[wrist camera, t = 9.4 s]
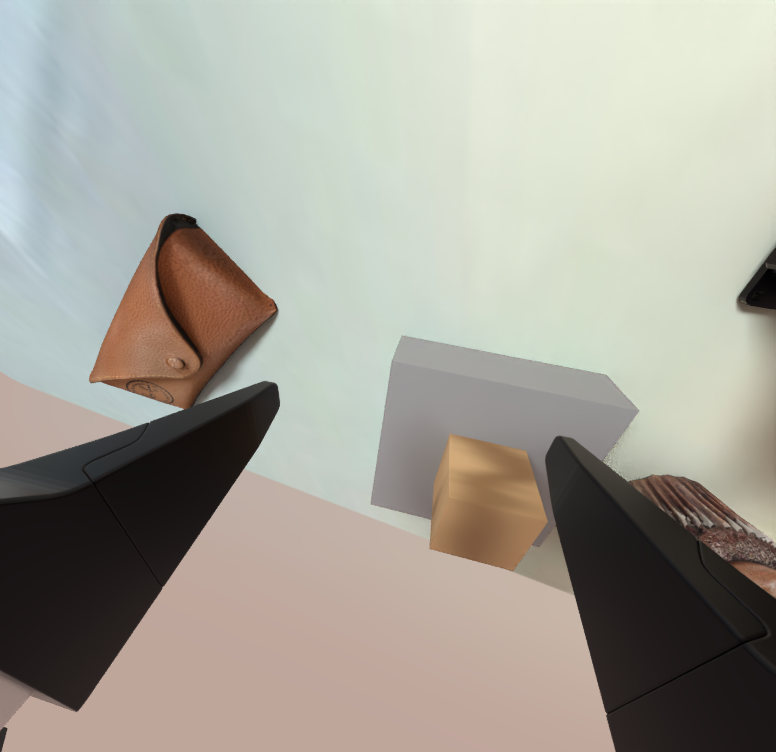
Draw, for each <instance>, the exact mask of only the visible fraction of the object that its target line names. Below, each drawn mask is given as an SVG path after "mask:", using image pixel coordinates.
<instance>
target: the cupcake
mask: <svg viewBox="0 0 776 752" xmlns="http://www.w3.org/2000/svg"><path fill="white" fill-rule="evenodd" d="M628 483H630V484H631V485H632V486H633V487H635V488H636V489H637V490H638V491H640V492H641V493H642V494H643V495H645V496H646V497H647V498H648V499H650V500H651V501H652V502H653V503H655V504H656V505H657V506H658V507H660V508H661V509H662V510H663V511H665V512H666V513H667V514H668V515H670V516H671V517H672V518H673V519H675V520H676V521H677V522H678V523H680V524H681V525H682V526H683V527H685V528H686V529H687V530H688V531H690V532H691V533H692V534H693V535H695V536H696V537H697V540H701V541H702V542H703V543H705V544H706V545H707V546H708V547H710V548H711V549H712V550H713V551H715V552H716V553H717V554H718V555H720V556H721V557H722V558H723V559H725V560H726V561H727V562H729V563H730V564H731V565H732V566H734V567H735V568H736V569H738V570H739V571H740V572H741V573H743V574H744V575H745V576H746V577H748V578H749V579H750V580H752V581H753V582H754V583H756V584H757V585H758V586H760V587H761V588H762V589H764V590H765V591H766V592H768V593H769V594H771V595H772V596H773V597H775V598H776V544H775V543H774V542H773V540H772V539H770V538H769V537H768V536H766V535H765V534H763V533H762V532H761V531H759V530H758V529H757V528H755V527H754V526H752V525H751V524H750V523H748V522H747V521H745V520H744V519H743V518H741V517H740V516H739V515H737V514H736V513H735V512H734V511H732V510H731V509H730V508H729V507H728V506H726V505H725V504H724V503H723V502H722V501H720V500H719V499H718V498H717V497H715V496H714V495H713V494H712V493H711V492H709V491H708V490H707V489H706V488H704V487H703V486H702V485H701V484H699V483H697V482H695V481H692V480H689V479H687V478H685V477H674V476H670V475H662V476H658V475H651V476H649V477H646V478H644V479H638V480H633V481H629V482H628Z"/></svg>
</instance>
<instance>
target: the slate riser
mask: <svg viewBox="0 0 776 752" xmlns="http://www.w3.org/2000/svg"><path fill="white" fill-rule="evenodd" d="M638 412H639V410H638V409H637V408H636V407H635V406H634V405H633V403H632V402H631V401H630V400H629V399H628V398H627V397H626V396H625V395H624V394H623V393H622V391H621V390H620V389H619V388H618V387H617V386H616V385H615V384H614V383H613V382H612V381H611V379H610V378H609V377H608V376H607V375H603V374H598V373H593V372H588V371H582V370H577V369H572V368H567V367H562V366H557V365H551V364H546V363H541V362H536V361H531V360H525V359H520V358H515V357H510V356H505V355H499V354H494V353H489V352H484V351H479V350H473V349H468V348H463V347H458V346H453V345H448V344H442V343H437V342H432V341H427V340H422V339H416V338H411V337H406V336H401V339H400V341H399V344H398V346H397V349H396V352H395V354H394V357H393V359H392V363H391V370H390V377H389V383H388V390H387V397H386V404H385V410H384V417H383V424H382V430H381V437H380V444H379V450H378V457H377V464H376V471H375V477H374V484H373V491H372V497H371V504H372V505H376V506H380V507H384V508H387V509H391V510H395V511H399V512H403V513H407V514H411V515H415V516H419V517H423V518H427V519H432V504H433V489H434V481H435V478H436V475H437V471H438V468H439V465H440V462H441V459H442V456H443V453H444V450H445V447H446V443H447V440H448V437H449V434H454V435H459V436H463V437H467V438H472V439H476V440H481V441H485V442H490V443H494V444H498V445H503V446H507V447H512V448H516V449H521V450H525V451H527V455H528V458H529V461H530V465H531V468H532V471H533V474H534V478H535V481H536V484H537V488H538V491H539V494H540V497H541V501H542V504H543V507H544V511H545V514H546V517H547V520H548V523H547V524H546V525H545V527H544V528H543V530H542V531H541V532H540V534H539V535H538V537H537V538H536V539H535V541H534V542H533V544H532V545H533V546H537V547H539V546H540V545H541V544H542V542H543V541H544V540H545V538H546V537H547V536H548V534H549V533H550V532H551V530H552V529H553V527H554V526H555V525H556V523H555V519H554V515H553V511H552V506H551V500H550V493H549V486H548V479H547V472H546V465H545V457H546V454H547V452H548V450H549V448H550V446H551V444H552V442H553V440H554V438H555V437H556V436H558V435H561V436H566V437H571V438H573V439H575V440H576V441H577V442H578V443H580V444H581V445H582V446H583V447H585V448H586V449H587V450H588V451H590V452H591V453H592V454H593V455H595V456H596V457H597V458H598V459H600V460H601V461H603V460H604V458H605V457H606V455H607V454H608V453H609V451H610V450H611V449H612V447H613V446H614V445H615V443H616V442H617V441H618V439H619V438H620V436H621V435H622V434H623V432H624V431H625V430H626V428H627V427H628V426H629V424H630V423H631V422H632V420H633V419H634V417H635V416H636V415H637V413H638Z"/></svg>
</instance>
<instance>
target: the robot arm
mask: <svg viewBox="0 0 776 752" xmlns="http://www.w3.org/2000/svg"><path fill="white" fill-rule="evenodd" d="M757 292H758V294H757V296H755V297H754V298H752V296H753V295H754V294H755V293H757ZM739 300H740V301H741V302H742V303H744V304H747V305H750V306H756V307H762V308H769V309H775V310H776V248H775V249H774V251H773V252H772V253H771V255H770V256H769V257H768V258H767V260H766V261H765V262H764V264H763V265H762V266H761V268H760V269H759V270H758V272H757V273H756V274H755V276H754V277H753V278H752V279H751V281H750V282H749V283H748V285H747V286H746V287H745V289H744V290H743V291H742V293H741V294H740V296H739ZM279 407H280V399H279V391H278V386H277V384H276V383H273V382H268V381H263V382H260V383H257V384H254V385H252V386H249V387H246V388H243V389H240V390H238V391H235V392H232V393H229V394H226V395H224V396H221V397H218V398H215V399H212V400H210V401H207V402H204V403H201V404H198V405H196V406H193V407H190V408H187V409H184V410H182V411H179V412H176V413H173V414H170V415H167V416H165V417H162V418H159V419H156V420H153V421H151V422H150V423H145V424H142V425H139V426H136V427H134V428H131V429H128V430H125V431H122V432H119V433H116V434H114V435H110V436H107V437H104V438H101V439H98V440H95V441H92V442H88V443H85V444H82V445H79V446H75V447H72V448H69V449H65V450H62V451H59V452H56V453H52V454H49V455H46V456H43V457H39V458H36V459H33V460H30V461H26V462H23V463H20V464H16V465H12V466H9V467H5V468H0V752H1V751H2V747H3V743H4V740H5V735H6V731H7V728H5V727H4V726H5V724H6V723H7V722H8V721H9V720H10V719H11V718H12V716H13V715H14V714H15V713H16V711H18V709H19V708H20V707H21V706H22V705H23V704H24V702H25V701H26V700H27V699H28V698H29V697H30V696H32V697H35V698H38V699H41V700H44V701H46V702H49V703H52V704H55V705H58V706H61V707H63V708H66V709H69V710H72V711H75V712H77V711H78V710H79V709H80V708H81V707H82V705H83V704H84V703H85V701H86V700H87V699H88V697H89V696H90V694H91V693H92V692H93V690H94V689H95V687H96V685H97V684H98V683H99V681H100V680H101V678H102V677H103V675H104V674H105V672H106V671H107V669H108V668H109V667H110V665H111V664H112V662H113V661H114V659H115V658H116V656H117V655H118V653H119V652H120V650H121V649H122V647H123V646H124V645H125V643H126V642H127V640H128V639H129V637H130V636H131V634H132V633H133V631H134V630H135V628H136V627H137V625H138V624H139V623H140V621H141V620H142V618H143V617H144V615H145V613H146V612H147V610H148V609H149V608H150V606H151V605H152V603H153V602H154V600H155V599H156V598H157V596H158V595H159V593H160V592H161V590H162V587H163V586H164V585H165V584H166V582H167V581H168V580H169V578H170V576H171V575H172V574H173V572H174V571H175V569H176V568H177V566H178V565H179V563H180V562H181V560H182V559H183V557H184V556H185V555H186V553H187V552H188V550H189V549H190V547H191V546H192V544H193V543H194V541H195V540H196V538H197V537H198V535H199V534H200V533H201V531H202V529H203V528H204V527H205V525H206V523H207V522H208V521H209V519H210V518H211V516H212V515H213V513H214V512H215V510H216V509H217V507H218V506H219V505H220V503H221V502H222V500H223V499H224V497H225V496H226V494H227V493H228V491H229V490H230V488H231V487H232V485H233V484H234V483H235V481H236V479H237V478H238V477H239V475H240V474H241V472H242V471H243V469H244V468H245V466H246V465H247V463H248V462H249V461H250V459H251V458H252V456H253V455H254V453H255V452H256V450H257V449H258V447H259V445H260V444H261V442H262V440H263V438H264V436H265V434H266V433H267V431H268V429H269V427H270V425H271V423H272V421H273V419H274V417H275V416H276V414H277V412H278V410H279ZM545 465H546V472H547V479H548V486H549V493H550V500H551V506H552V511H553V515H554V519H555V523H556V526H557V530H558V534H559V538H560V542H561V545H562V549H563V553H564V557H565V561H566V564H567V568H568V572H569V576H570V580H571V583H572V587H573V591H574V595H575V598H576V602H577V606H578V610H579V613H580V617H581V621H582V625H583V629H584V633H585V636H586V640H587V644H588V647H589V651H590V655H591V659H592V663H593V666H594V670H595V674H596V678H597V682H598V686H599V689H600V693H601V696H602V700H603V704H604V708H605V712H606V713H607V715H606V717H607V720H608V724H609V728H610V732H611V736H612V739H613V743H614V747H615V751H616V752H776V598H775V597H773V596H772V595H771V594H769V593H768V592H766V591H765V590H764V589H762V588H761V587H760V586H758V585H757V584H756V583H754V582H753V581H752V580H750V579H749V578H748V577H746V576H745V575H744V574H743V573H741V572H740V571H739V570H738V569H736V568H735V567H734V566H732V565H731V564H730V563H729V562H727V561H726V560H725V559H723V558H722V557H721V556H720V555H718V554H717V553H716V552H715V551H713V550H712V549H711V548H710V547H708V546H707V545H706V544H705V543H703V542H702V541H701V540H697V537H696V536H695V535H693V534H692V533H691V532H690V531H688V530H687V529H686V528H685V527H683V526H682V525H681V524H680V523H678V522H677V521H676V520H675V519H673V518H672V517H671V516H670V515H668V514H667V513H666V512H665V511H663V510H662V509H661V508H660V507H658V506H657V505H656V504H655V503H653V502H652V501H651V500H650V499H648V498H647V497H646V496H645V495H643V494H642V493H641V492H640V491H638V490H637V489H636V488H635V487H633V486H632V485H631V484H630V483H628V482H627V481H626V480H625V479H623V478H622V477H621V476H620V475H618V474H617V473H616V472H615V471H613V470H612V469H611V468H610V467H608V466H607V465H606V464H605V463H603V462H602V461H601V460H600V459H598V458H597V457H596V456H595V455H593V454H592V453H591V452H590V451H588V450H587V449H586V448H585V447H583V446H582V445H581V444H580V443H578V442H577V441H576V440H575V439H573V438H571V437H566V436H561V435H558V436H556V437H555V438H554V440H553V442H552V444H551V446H550V448H549V450H548V452H547V454H546V457H545Z"/></svg>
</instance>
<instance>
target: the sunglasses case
mask: <svg viewBox="0 0 776 752" xmlns="http://www.w3.org/2000/svg"><path fill="white" fill-rule="evenodd" d="M196 222H197V221H196V219H195V218H193V217H191V216H187V215H185V214H178V213H175V214H170V215H168V216H166V217H165V218H164V219H163V220H162V221H161V224H160V225H159V228H158V231H157V233H156V236H155V237H154V239H153V241H152V243H151V244H150V246H149V248H148V250H147V251H146V253H145V255H144V257H143V258H142V261H141V262H140V264H139V266H138V268H137V270H136V272H135V273H134V276H133V278H132V280H131V282H130V284H129V286H128V288H127V290H126V292H125V294H124V297H123V299H122V301H121V303H120V306H119V307H118V309H117V312H116V314H115V316H114V318H113V320H112V322H111V325H110V327H109V329H108V331H107V334H106V336H105V339H104V341H103V343H102V345H101V348H100V351H99V354H98V357H97V360H96V363H95V366H94V368H93V371H92V372H91V374H90V377H89V381H90V383H96V382H102V383H105V384H108V385H111V386H114V387H117V388H121V389H124V390H126V391H130V392H132V393H136V394H139V395H142V396H145V397H148V398H151V399H154V400H157V401H160V402H163V403H166V404H170V405H173V406H177V407H180V408H183V409H187V408H190V407H192V406H193V404H194V402H195V400H196V398H197V396H198V395H199V393H200V392H201V390H202V389H203V388H204V386H205V385H206V384H207V383H208V381H209V380H210V379H211V378H212V377H213V375H214V374H215V373H216V372H217V371H218V369H220V367H221V366H222V365H223V364H224V363H225V361H226V360H227V359H228V358H229V357H230V356H231V355H232V354H233V353H234V351H235V350H236V349H237V348H238V347H239V346H240V345H241V344H242V343H243V342H244V341H245V339H247V337H248V336H249V335H251V334H252V333H253V332H254V331H255V330H256V329H257V328H258V327H259V326H260V325H262V324H263V323H264V322H265V321H266V320H267V319H269V318H270V317H271V316H273V315H274V313H275V312H276V311H277V307H276V304H275V302H274V300H273V299H271V298H269V297H268V296H267V295H266V294H264V293H263V292H262V291H261V290H260V289H259V288H258V287H257V285H255V283H254V282H253V281H252V280H251V279H250V278H249V277H248V276H247V275H246V274H245V273H244V272H243V271H242V270H241V269H240V268H239V267H238V266H237V265H236V263H235V262H234V261H232V260H231V259H230V257H229V256H228V255H227V254H226V253H225V252H224V251H223V250H222V249H221V248H220V247H219V246H218V245H217V244H216V243H215V242H214V241H213V240H212V239H211V238H210V237H209V236H208V235H207V234H206V233H205V232H204V231H203V230H202V229H201V228H200V227H198V226H197V225H196Z"/></svg>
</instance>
